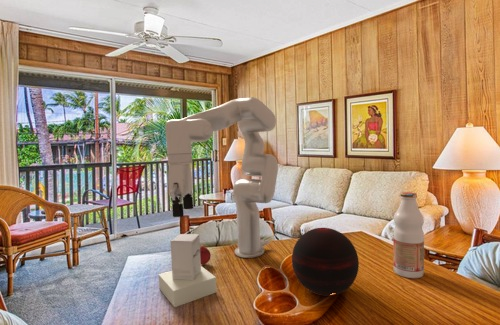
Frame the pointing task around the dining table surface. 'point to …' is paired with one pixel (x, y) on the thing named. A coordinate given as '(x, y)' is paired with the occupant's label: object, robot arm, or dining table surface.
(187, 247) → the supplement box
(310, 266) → the decorative orb
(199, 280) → the block
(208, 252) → the onion
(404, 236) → the fruit juice
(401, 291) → the dining table surface
